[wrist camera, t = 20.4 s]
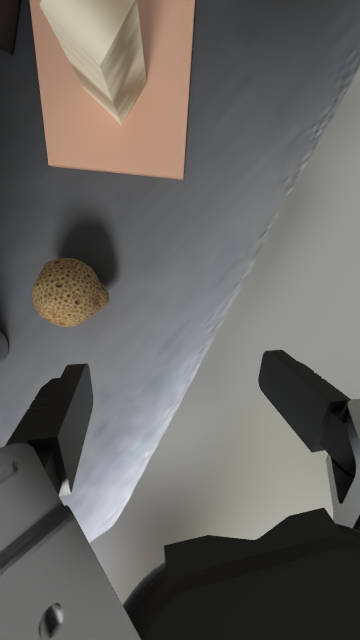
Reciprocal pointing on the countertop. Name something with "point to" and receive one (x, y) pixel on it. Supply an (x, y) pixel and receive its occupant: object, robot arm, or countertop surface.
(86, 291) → the natural sponge
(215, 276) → the countertop surface
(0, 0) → the phone stand
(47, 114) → the terracotta tile
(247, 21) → the countertop surface
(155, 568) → the robot arm
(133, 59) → the maple block
